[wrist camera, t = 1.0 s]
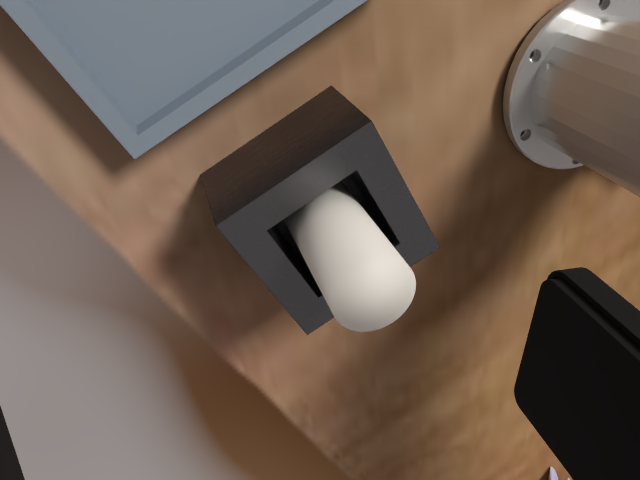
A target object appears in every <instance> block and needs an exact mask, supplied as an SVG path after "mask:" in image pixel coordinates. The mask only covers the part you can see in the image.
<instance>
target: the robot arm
mask: <svg viewBox="0 0 640 480" xmlns="http://www.w3.org/2000/svg"><path fill="white" fill-rule="evenodd" d="M503 115H504V122H505V126H506V129H507V133H508V135H509V137H510V139H511V141H512V142H513V144H514V146H515V147H516V148H517V149H518V150H519V151H520V152H521V153H522V154H523V155H524V156H526V157H527V158H529V159H530V160H532V161H533V162H534V163H537V164H539V165H541V166H544V167H546V168H552V169H572V168H576V167H580V166H584V165H585V166H586V167H588V168H590V169H592V170H593V171H595V172H597V173H599V174H600V175H602V176H604V177H606V178H607V179H609V180H611V181H613V182H614V183H616V184H618V185H620V186H621V187H623V188H625V189H627V190H628V191H630V192H632V193H634V194H635V195H637V196H639V197H640V0H565V1H563V2H562V3H560V4H559V5H557V6H556V7H554V8H553V9H552V10H551V11H550V12H549V13H547V14H546V15H545V16H544V17H543V18H542V19H541V20H540V21H539V22H538V23H537V24H536V26H535V27H534V28H533V29H532V30H531V32H530V33H529V34H528V35H527V37H526V38H525V40H524V42H523V43H522V45H521V46H520V48H519V50H518V51H517V53H516V55H515V58H514V60H513V62H512V65H511V67H510V69H509V72H508V76H507V80H506V84H505V88H504V97H503ZM514 395H515V399H516V402H517V404H518V406H519V408H520V409H521V410H522V412H523V413H524V414H525V416H526V417H527V418H528V420H529V421H530V422H531V424H532V425H533V426H534V428H535V429H536V430H537V432H538V433H539V434H540V436H541V437H542V438H543V440H544V441H545V442H546V444H547V445H548V446H549V448H550V449H551V450H552V452H553V453H554V454H555V456H556V457H557V458H558V460H559V461H560V462H561V464H562V465H563V466H564V468H565V469H566V470H567V471H568V473H569V474H570V475H571V477H572V478H573V479H574V480H640V311H639V310H638V309H636V308H635V307H634V306H633V305H632V304H630V303H629V302H628V301H627V300H625V299H624V298H623V297H622V296H621V295H619V294H618V293H617V292H616V291H614V290H613V289H612V288H611V287H610V286H608V285H607V284H606V283H605V282H603V281H602V280H601V279H600V278H599V277H597V276H596V275H595V274H594V273H592V272H591V271H590V270H588V269H586V268H582V267H580V268H572V269H565V270H557V271H554V272H552V273H551V274H550V275H549V276H548V278H547V280H545V281H544V282H543V283H542V285H541V287H540V291H539V294H538V298H537V302H536V306H535V310H534V314H533V318H532V321H531V325H530V329H529V333H528V337H527V341H526V345H525V348H524V352H523V356H522V360H521V364H520V368H519V372H518V375H517V379H516V383H515V388H514ZM0 480H25V479H24V476H23V473H22V470H21V467H20V464H19V461H18V458H17V455H16V452H15V449H14V446H13V443H12V440H11V437H10V434H9V431H8V428H7V425H6V422H5V419H4V416H3V413H2V410H1V407H0Z"/></svg>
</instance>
